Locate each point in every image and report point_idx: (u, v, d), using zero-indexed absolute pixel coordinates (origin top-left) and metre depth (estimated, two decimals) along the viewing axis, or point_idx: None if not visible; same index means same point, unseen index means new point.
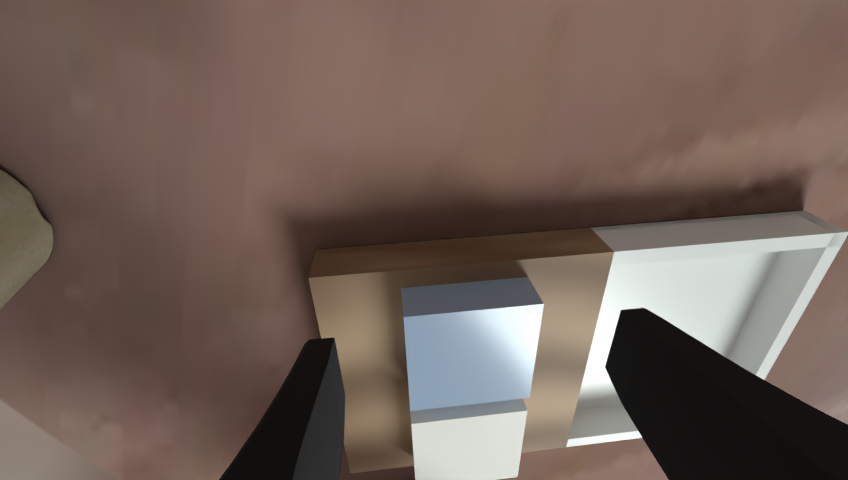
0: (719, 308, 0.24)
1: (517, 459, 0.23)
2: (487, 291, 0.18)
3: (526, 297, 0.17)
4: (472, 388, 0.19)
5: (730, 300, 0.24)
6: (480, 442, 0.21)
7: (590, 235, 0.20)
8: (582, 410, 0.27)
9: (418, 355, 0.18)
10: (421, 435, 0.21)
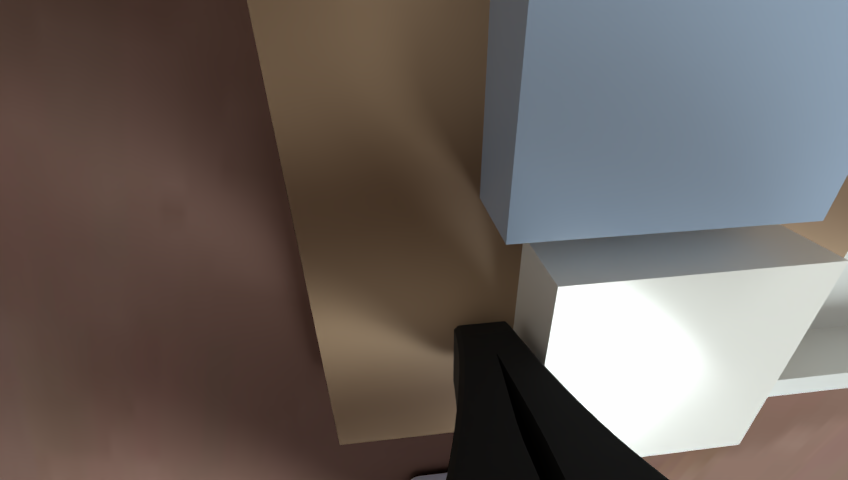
0: None
1: (758, 403, 0.10)
2: None
3: None
4: (692, 171, 0.07)
5: None
6: (700, 354, 0.09)
7: None
8: None
9: None
10: (573, 325, 0.08)
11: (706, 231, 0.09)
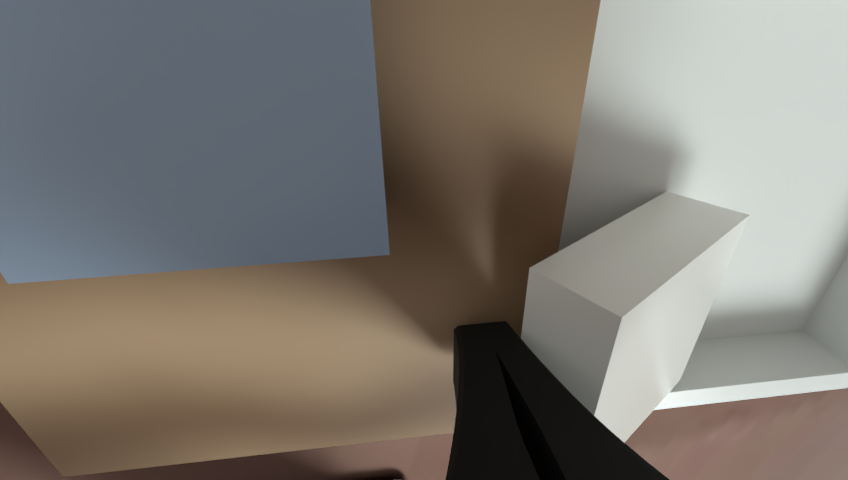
0: None
1: (694, 343, 0.12)
2: None
3: None
4: (186, 205, 0.06)
5: None
6: (680, 324, 0.10)
7: None
8: None
9: None
10: (623, 349, 0.08)
11: (651, 216, 0.10)
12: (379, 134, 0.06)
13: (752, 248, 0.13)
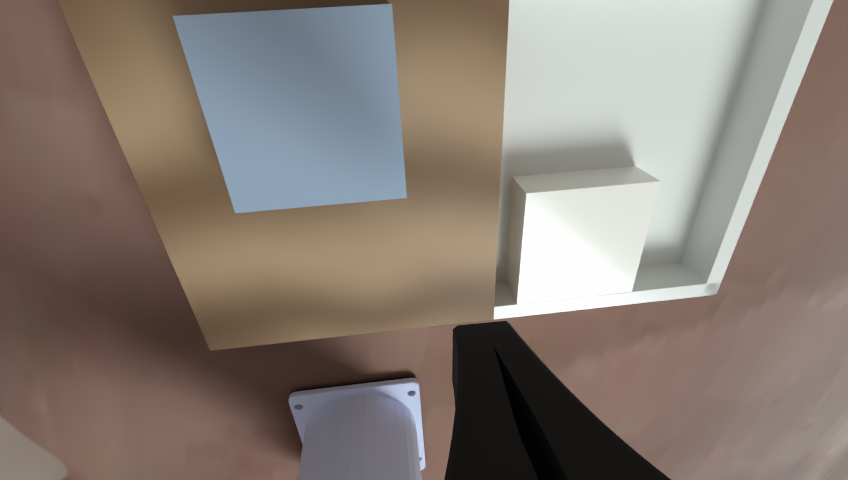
0: (684, 119, 0.18)
1: (636, 263, 0.20)
2: None
3: None
4: (317, 174, 0.14)
5: (698, 106, 0.18)
6: (599, 231, 0.18)
7: None
8: None
9: (218, 101, 0.12)
10: (535, 214, 0.18)
11: (602, 172, 0.19)
12: (402, 141, 0.13)
13: None
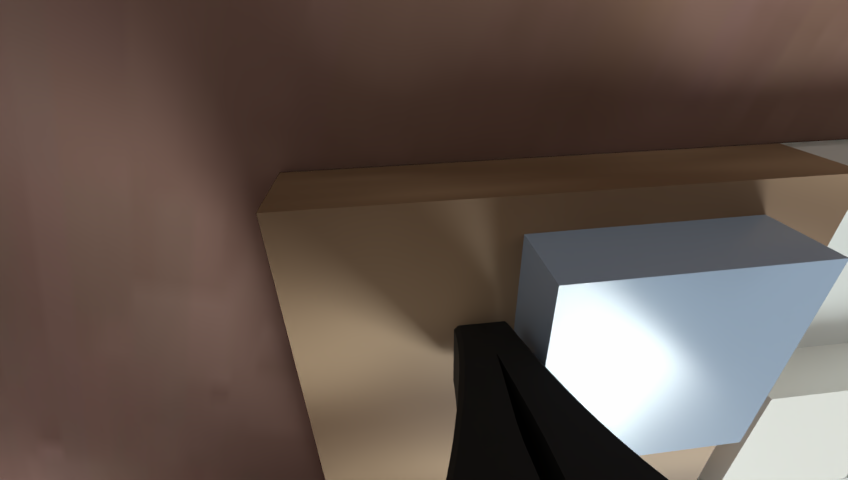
0: None
1: None
2: (705, 236, 0.09)
3: (798, 247, 0.08)
4: (648, 429, 0.10)
5: None
6: (836, 428, 0.15)
7: (792, 152, 0.11)
8: None
9: (567, 369, 0.09)
10: (771, 417, 0.14)
11: (837, 354, 0.15)
12: (767, 390, 0.10)
13: None
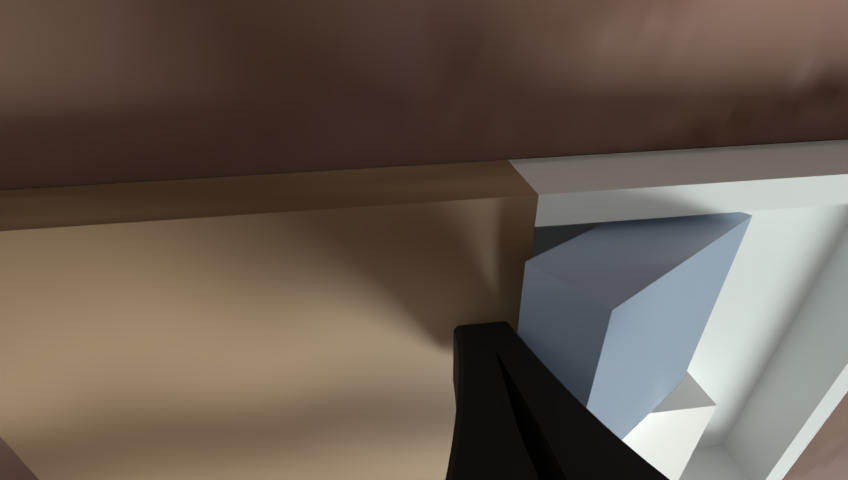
0: (744, 313, 0.14)
1: (675, 478, 0.16)
2: (659, 222, 0.10)
3: (718, 214, 0.10)
4: (640, 404, 0.11)
5: (763, 301, 0.14)
6: None
7: (502, 170, 0.10)
8: None
9: (604, 385, 0.08)
10: None
11: None
12: None
13: None
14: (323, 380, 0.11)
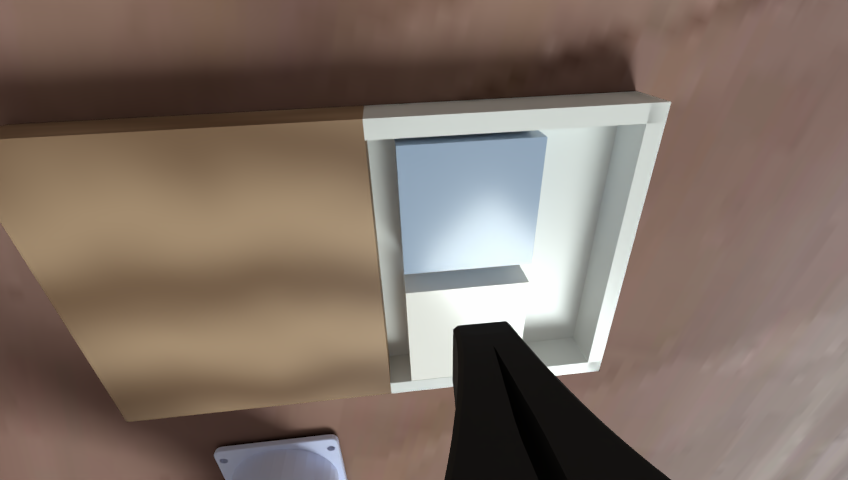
0: (556, 222, 0.20)
1: None
2: None
3: (528, 134, 0.16)
4: (470, 247, 0.18)
5: (567, 212, 0.20)
6: (478, 322, 0.20)
7: (354, 110, 0.16)
8: None
9: (412, 199, 0.17)
10: (416, 309, 0.19)
11: None
12: (535, 224, 0.18)
13: None
14: (246, 248, 0.17)
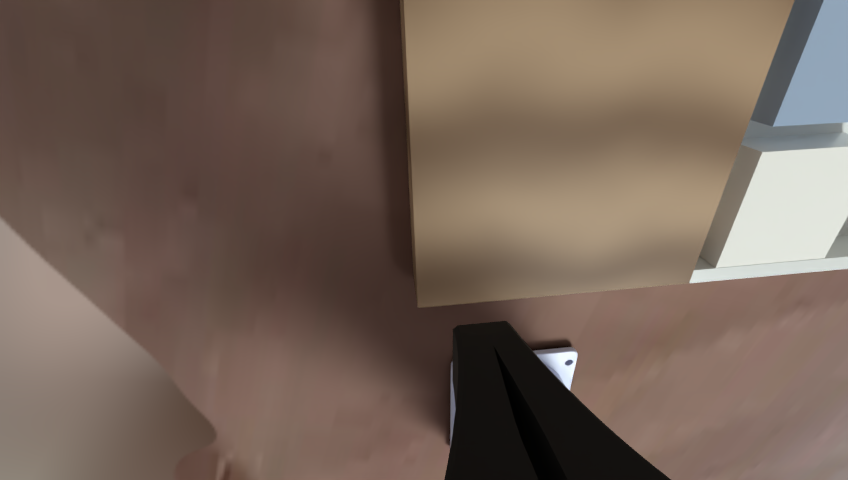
0: None
1: (838, 229, 0.20)
2: None
3: None
4: None
5: None
6: (815, 194, 0.19)
7: None
8: None
9: (826, 25, 0.15)
10: (763, 174, 0.18)
11: (816, 136, 0.19)
12: None
13: None
14: (634, 82, 0.15)
